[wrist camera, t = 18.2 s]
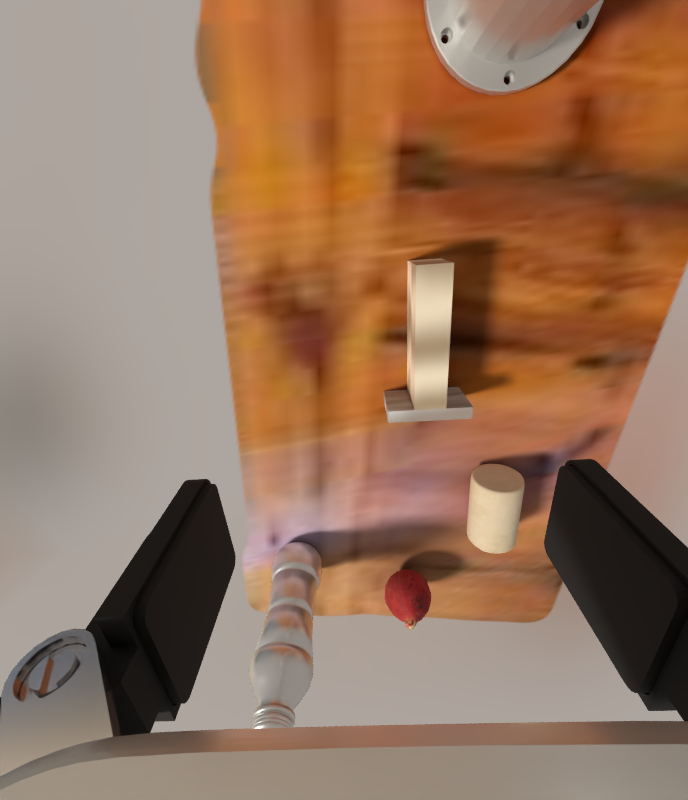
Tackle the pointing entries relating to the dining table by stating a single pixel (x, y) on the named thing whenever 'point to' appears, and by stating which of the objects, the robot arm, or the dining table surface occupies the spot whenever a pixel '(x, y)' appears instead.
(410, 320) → the cream upright plaque
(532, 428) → the dining table surface
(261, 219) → the dining table surface
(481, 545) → the candle
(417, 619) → the onion
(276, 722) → the plastic bottle
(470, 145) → the dining table surface
